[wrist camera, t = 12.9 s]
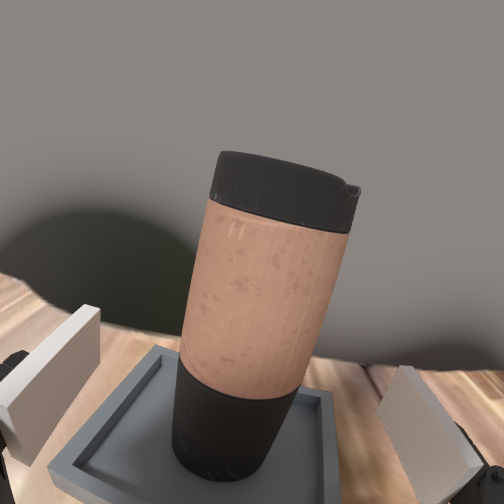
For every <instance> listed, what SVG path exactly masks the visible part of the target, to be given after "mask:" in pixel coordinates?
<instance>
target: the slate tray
mask: <svg viewBox="0 0 504 504" xmlns="http://www.w3.org/2000/svg"><path fill="white" fill-rule="evenodd" d="M178 357H179V352H176V351H173V350H170V349H167V348H164V347H161V346H159V345H156V344H155V345H154V347H153V348H152V349H151V350H150V351H149V352H148V353H147V354H146V355H145V357H144V358H143V359H142V360H141V361H140V362H139V363H138V364H137V365H136V367H135V368H134V369H133V370H132V371H131V372H130V373H129V374H128V375H127V377H126V378H125V379H124V380H123V381H122V382H121V383H120V384H119V386H118V387H117V388H116V389H115V390H114V391H113V392H112V393H111V395H110V396H109V397H108V398H107V399H106V400H105V401H104V402H103V404H102V405H101V406H100V407H99V408H98V409H97V410H96V411H95V413H94V414H93V415H92V416H91V417H90V418H89V419H88V420H87V422H86V423H85V424H84V425H83V426H82V427H81V428H80V429H79V431H78V432H77V433H76V434H75V435H74V436H73V437H72V439H71V440H70V441H69V442H68V443H67V444H66V445H65V447H64V448H63V449H62V450H61V451H60V452H59V453H58V454H57V456H56V457H55V458H54V459H53V460H52V461H51V462H50V464H49V465H48V466H47V468H48V471H49V473H50V476H51V478H52V480H53V483H54V485H55V486H56V487H58V488H59V489H61V490H62V491H64V492H66V493H67V494H69V495H71V496H72V497H74V498H76V499H78V500H79V501H81V502H83V503H85V504H341V492H340V476H339V462H338V449H337V438H336V427H335V417H334V407H333V398H332V392H328V391H322V390H317V389H313V388H308V387H303V386H300V387H299V389H298V392H297V394H296V396H295V398H294V401H293V403H292V405H291V407H290V409H289V411H288V414H287V416H286V418H285V420H284V422H283V424H282V426H281V428H280V430H279V432H278V435H277V437H276V439H275V441H274V443H273V445H272V447H271V449H270V451H269V453H268V454H267V456H266V458H265V460H264V462H263V463H262V465H261V466H260V468H259V469H258V470H257V471H256V472H255V473H254V474H252V475H251V476H249V477H247V478H245V479H242V480H239V481H235V482H215V481H211V480H207V479H204V478H201V477H199V476H197V475H195V474H193V473H191V472H190V471H189V470H187V469H186V468H185V467H184V466H183V465H182V464H181V463H180V462H179V461H178V459H177V458H176V456H175V454H174V451H173V448H172V422H173V409H174V398H175V387H176V376H177V367H178Z"/></svg>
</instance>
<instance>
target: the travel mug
mask: <svg viewBox="0 0 504 504" xmlns="http://www.w3.org/2000/svg"><path fill="white" fill-rule="evenodd" d="M360 194H361V188H360V187H359V186H354V185H348V184H346V182H345V181H344V180H343V179H341V178H340V177H338V176H335V175H333V174H331V173H327V172H325V171H321V170H318V169H314V168H311V167H307V166H304V165H299V164H296V163H292V162H288V161H283V160H279V159H275V158H270V157H265V156H260V155H255V154H249V153H243V152H235V151H222V152H221V153H220V155H219V157H218V161H217V165H216V169H215V173H214V178H213V182H212V187H211V191H210V195H209V196H210V198H209V199H208V204H207V208H206V213H205V218H204V222H203V227H202V231H201V236H200V241H199V246H198V251H197V255H196V261H195V265H194V271H193V276H192V281H191V286H190V291H189V297H188V302H187V308H186V314H185V320H184V325H183V331H182V337H181V343H180V351H179V357H178V367H177V376H176V387H175V398H174V409H173V422H172V448H173V451H174V454H175V456H176V458H177V459H178V461H179V462H180V463H181V464H182V465H183V466H184V467H185V468H186V469H187V470H189V471H190V472H191V473H193V474H195V475H197V476H199V477H201V478H204V479H207V480H211V481H215V482H235V481H239V480H242V479H245V478H247V477H249V476H251V475H252V474H254V473H255V472H256V471H257V470H258V469H259V468H260V466H261V465H262V463H263V462H264V460H265V458H266V456H267V454H268V453H269V451H270V449H271V447H272V445H273V443H274V441H275V439H276V437H277V435H278V432H279V430H280V428H281V426H282V424H283V422H284V420H285V418H286V416H287V414H288V411H289V409H290V407H291V405H292V403H293V401H294V398H295V396H296V394H297V392H298V389H299V387H300V385H301V382H302V380H303V377H304V375H305V372H306V369H307V367H308V364H309V361H310V358H311V355H312V353H313V350H314V347H315V344H316V341H317V338H318V335H319V333H320V329H321V327H322V324H323V321H324V317H325V314H326V311H327V308H328V305H329V302H330V299H331V296H332V292H333V289H334V286H335V283H336V279H337V276H338V273H339V269H340V266H341V262H342V258H343V255H344V252H345V248H346V244H347V241H348V237H349V231H350V230H351V226H352V221H353V218H354V214H355V210H356V206H357V202H358V199H359V196H360Z"/></svg>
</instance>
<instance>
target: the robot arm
mask: <svg viewBox="0 0 504 504" xmlns="http://www.w3.org/2000/svg"><path fill="white" fill-rule="evenodd" d="M99 363H100V309H99V308H95V307H92V306H89V305H86V304H84V305H83V306H82V307H81V308H80V309H78V310H77V311H76V312H75V313H74V314H73V315H72V316H70V317H69V318H68V319H67V320H66V321H65V322H64V323H63V324H62V325H60V326H59V327H58V328H57V329H56V330H55V331H54V332H53V333H52V334H50V335H49V336H48V337H47V338H46V339H45V340H44V341H43V342H42V343H41V344H40V345H39V346H37V347H36V348H35V349H34V350H33V351H32V352H31V353H28V352H26V351H24V350H21V351H19V352H16V353H14V354H11V355H10V356H9V357H8V358H7V359H6V360H5V361H3V363H2V364H0V504H15V501H14V498H13V494H12V491H11V487H10V483H9V479H8V475H7V471H6V466H5V461H4V457H3V455H2V451H3V450H4V449H5V447H6V446H7V448H8V451H9V453H10V455H11V457H13V458H15V459H16V460H18V461H20V462H22V463H23V464H25V465H27V466H29V467H30V466H31V465H32V463H33V461H34V460H35V458H36V457H37V455H38V454H39V452H40V450H41V449H42V447H43V446H44V444H45V443H46V441H47V439H48V438H49V436H50V435H51V433H52V432H53V430H54V429H55V427H56V426H57V424H58V423H59V421H60V420H61V418H62V417H63V415H64V414H65V412H66V411H67V409H68V408H69V406H70V405H71V403H72V402H73V400H74V399H75V398H76V396H77V395H78V393H79V392H80V390H81V389H82V387H83V386H84V385H85V383H86V382H87V380H88V379H89V378H90V376H91V375H92V373H93V372H94V370H95V369H96V368H97V366H98V365H99ZM376 411H377V413H378V415H379V417H380V420H381V422H382V424H383V426H384V428H385V430H386V432H387V434H388V436H389V438H390V440H391V442H392V444H393V446H394V449H395V451H396V453H397V455H398V457H399V459H400V461H401V463H402V466H403V468H404V470H405V472H406V474H407V476H408V479H409V481H410V483H411V485H412V487H413V489H414V492H415V494H416V496H417V498H418V501H419V503H420V504H448V503H449V502H450V504H504V468H502V467H500V466H496V465H494V466H491V467H490V466H489V465H488V463H487V462H486V460H485V459H484V457H483V456H482V454H481V453H480V452H479V450H478V449H477V447H476V446H475V444H474V445H473V442H472V440H471V439H470V438H469V436H468V435H467V433H466V432H465V431H464V429H463V428H462V427H461V426H459V425H458V424H457V423H456V422H454V421H453V420H452V418H451V417H450V415H449V414H448V413H447V411H446V410H445V409H444V407H443V406H442V405H441V403H440V402H439V401H438V399H437V398H436V396H435V395H434V394H433V392H432V391H431V390H430V388H429V387H428V386H427V385H426V383H425V382H424V381H423V379H422V378H421V377H420V375H419V374H418V373H417V371H416V370H415V369H414V368H413V366H402V365H400V366H399V368H398V370H397V372H396V374H395V376H394V378H393V380H392V382H391V384H390V386H389V388H388V390H387V392H386V394H385V395H384V397H383V399H382V401H381V403H380V405H379V407H378V408H377V410H376Z"/></svg>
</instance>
